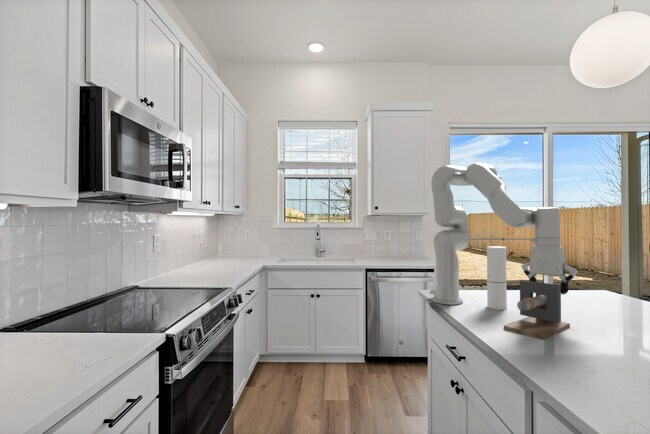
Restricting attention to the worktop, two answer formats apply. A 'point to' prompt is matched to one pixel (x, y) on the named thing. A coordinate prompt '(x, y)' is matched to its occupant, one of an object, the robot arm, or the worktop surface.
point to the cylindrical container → (496, 278)
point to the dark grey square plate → (552, 300)
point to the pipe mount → (535, 320)
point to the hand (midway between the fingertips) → (548, 291)
